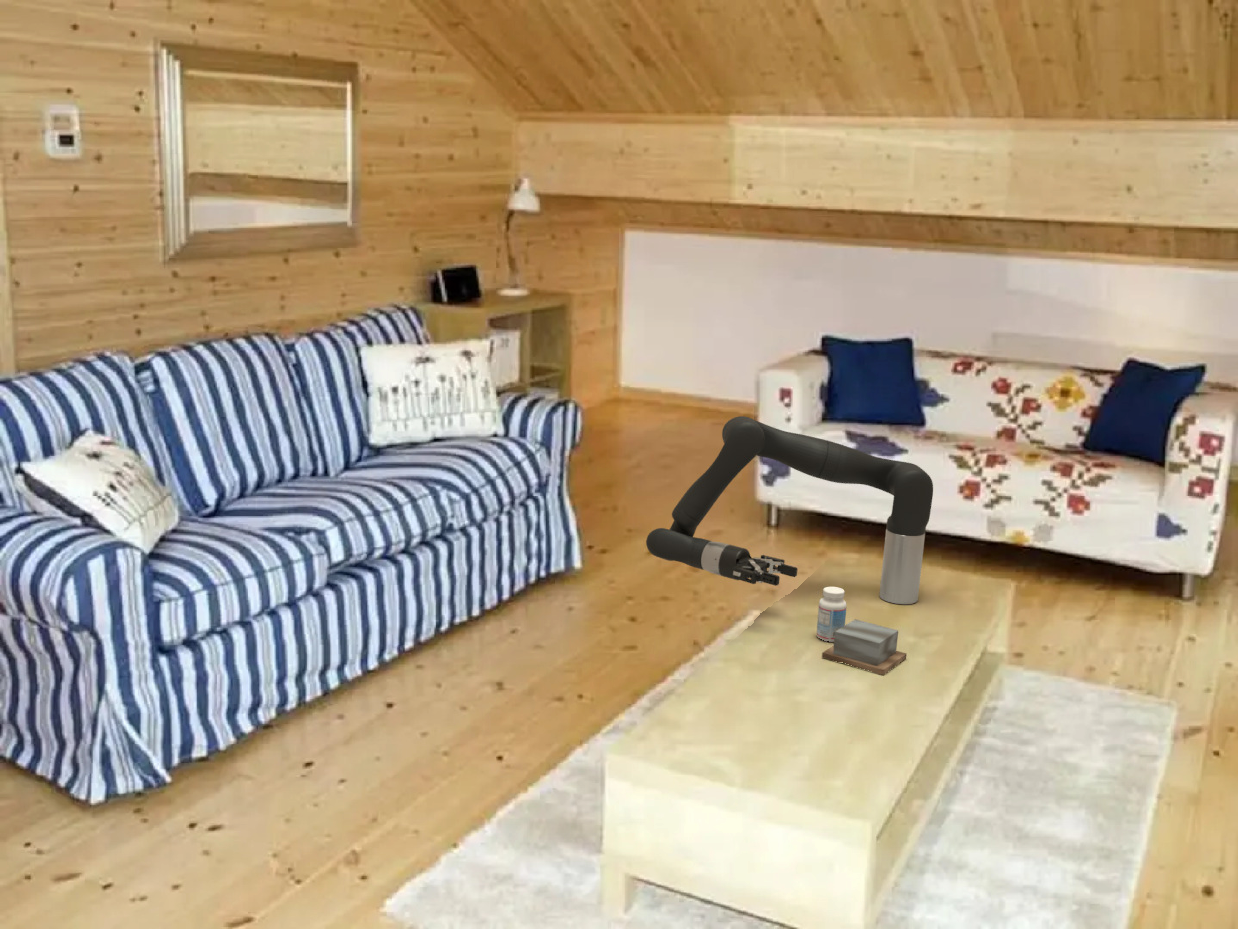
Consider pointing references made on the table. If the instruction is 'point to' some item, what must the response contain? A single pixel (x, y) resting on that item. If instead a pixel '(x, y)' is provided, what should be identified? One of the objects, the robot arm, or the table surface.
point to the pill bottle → (831, 613)
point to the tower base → (866, 647)
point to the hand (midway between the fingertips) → (787, 576)
